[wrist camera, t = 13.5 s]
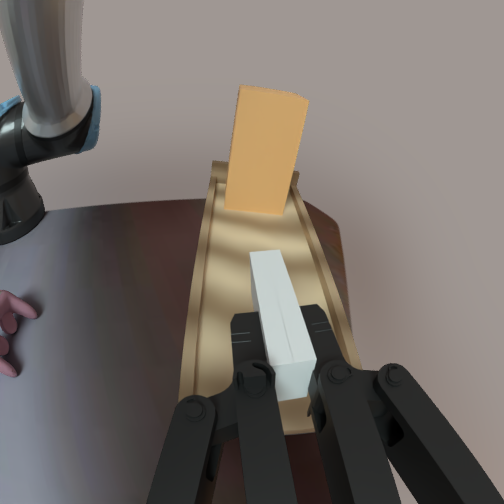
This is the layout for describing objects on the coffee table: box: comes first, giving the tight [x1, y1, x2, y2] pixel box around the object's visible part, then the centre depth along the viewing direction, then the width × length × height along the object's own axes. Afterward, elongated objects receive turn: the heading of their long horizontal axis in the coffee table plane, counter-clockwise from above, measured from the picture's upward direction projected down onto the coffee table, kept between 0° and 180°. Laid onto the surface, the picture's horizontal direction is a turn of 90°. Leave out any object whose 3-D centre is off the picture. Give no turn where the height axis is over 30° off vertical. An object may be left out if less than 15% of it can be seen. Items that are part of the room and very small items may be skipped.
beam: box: [178, 161, 363, 435], centre depth 26 cm, size 32×12×7 cm, turn 3°
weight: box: [224, 85, 309, 215], centre depth 31 cm, size 7×7×14 cm
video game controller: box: [0, 290, 37, 377], centre depth 20 cm, size 10×5×7 cm, turn 6°
